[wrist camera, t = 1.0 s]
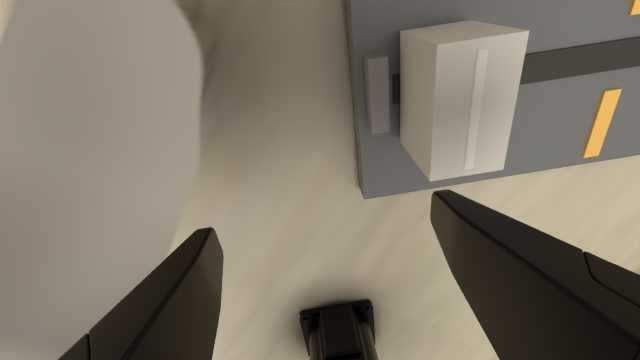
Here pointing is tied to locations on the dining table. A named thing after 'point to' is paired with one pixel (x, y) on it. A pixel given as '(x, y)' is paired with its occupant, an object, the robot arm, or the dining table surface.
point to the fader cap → (459, 95)
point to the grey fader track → (533, 94)
